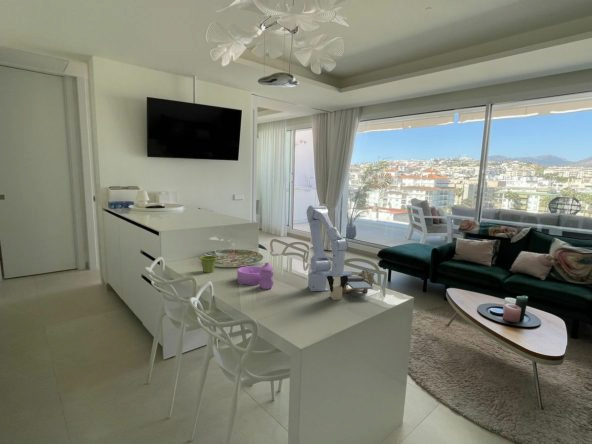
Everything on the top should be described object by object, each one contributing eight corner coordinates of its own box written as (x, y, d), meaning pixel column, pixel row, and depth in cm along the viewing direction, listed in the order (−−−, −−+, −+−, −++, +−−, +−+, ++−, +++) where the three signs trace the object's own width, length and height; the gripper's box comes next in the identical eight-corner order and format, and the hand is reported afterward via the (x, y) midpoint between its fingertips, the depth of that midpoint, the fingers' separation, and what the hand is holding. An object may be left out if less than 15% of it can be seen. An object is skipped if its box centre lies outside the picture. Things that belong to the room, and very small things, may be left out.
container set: (231, 279, 179) (232, 256, 178) (254, 275, 189) (255, 253, 188) (258, 292, 161) (259, 266, 159) (281, 286, 171) (282, 262, 170)
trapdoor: (353, 292, 156) (353, 284, 156) (342, 282, 170) (343, 276, 170) (372, 291, 158) (372, 284, 158) (360, 282, 172) (361, 275, 172)
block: (332, 299, 155) (333, 287, 155) (330, 296, 160) (330, 284, 159) (341, 299, 156) (342, 287, 155) (338, 296, 161) (339, 284, 160)
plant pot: (199, 270, 195) (199, 256, 194) (214, 269, 199) (215, 255, 198) (201, 274, 187) (201, 259, 185) (217, 273, 191) (218, 258, 189)
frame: (343, 293, 165) (344, 280, 164) (340, 290, 170) (341, 277, 169) (367, 292, 167) (368, 280, 167) (363, 289, 172) (364, 277, 172)
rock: (362, 287, 172) (365, 269, 174) (353, 285, 177) (356, 267, 179) (377, 291, 178) (380, 273, 180) (368, 289, 184) (371, 272, 186)
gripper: (326, 266, 150) (324, 294, 152) (355, 265, 153) (353, 293, 155) (321, 262, 157) (320, 289, 159) (350, 262, 160) (348, 288, 162)
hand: (336, 290), depth 158 cm, fingers open, 4 cm apart
